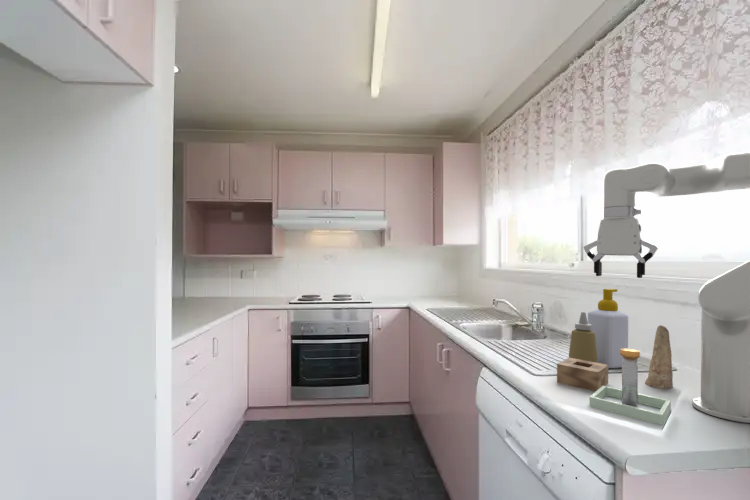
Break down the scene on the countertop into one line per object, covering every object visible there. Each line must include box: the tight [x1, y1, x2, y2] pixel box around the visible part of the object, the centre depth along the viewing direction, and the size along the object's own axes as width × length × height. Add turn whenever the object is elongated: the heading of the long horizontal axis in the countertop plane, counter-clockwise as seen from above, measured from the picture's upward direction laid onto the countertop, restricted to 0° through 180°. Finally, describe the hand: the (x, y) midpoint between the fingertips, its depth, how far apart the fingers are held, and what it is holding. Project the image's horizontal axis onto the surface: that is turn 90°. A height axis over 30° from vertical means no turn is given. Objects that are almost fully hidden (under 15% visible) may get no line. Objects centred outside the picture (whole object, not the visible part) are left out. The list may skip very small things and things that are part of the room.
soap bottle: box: [587, 288, 629, 369], centre depth 126 cm, size 9×9×25 cm
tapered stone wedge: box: [644, 324, 674, 389], centre depth 102 cm, size 6×18×6 cm
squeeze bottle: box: [568, 312, 598, 362], centre depth 120 cm, size 8×8×18 cm
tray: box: [588, 385, 672, 430], centre depth 87 cm, size 14×12×3 cm
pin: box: [620, 348, 641, 408], centre depth 87 cm, size 4×4×13 cm
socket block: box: [556, 357, 609, 393], centre depth 104 cm, size 10×10×6 cm
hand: (618, 276), depth 104 cm, fingers open, 9 cm apart
